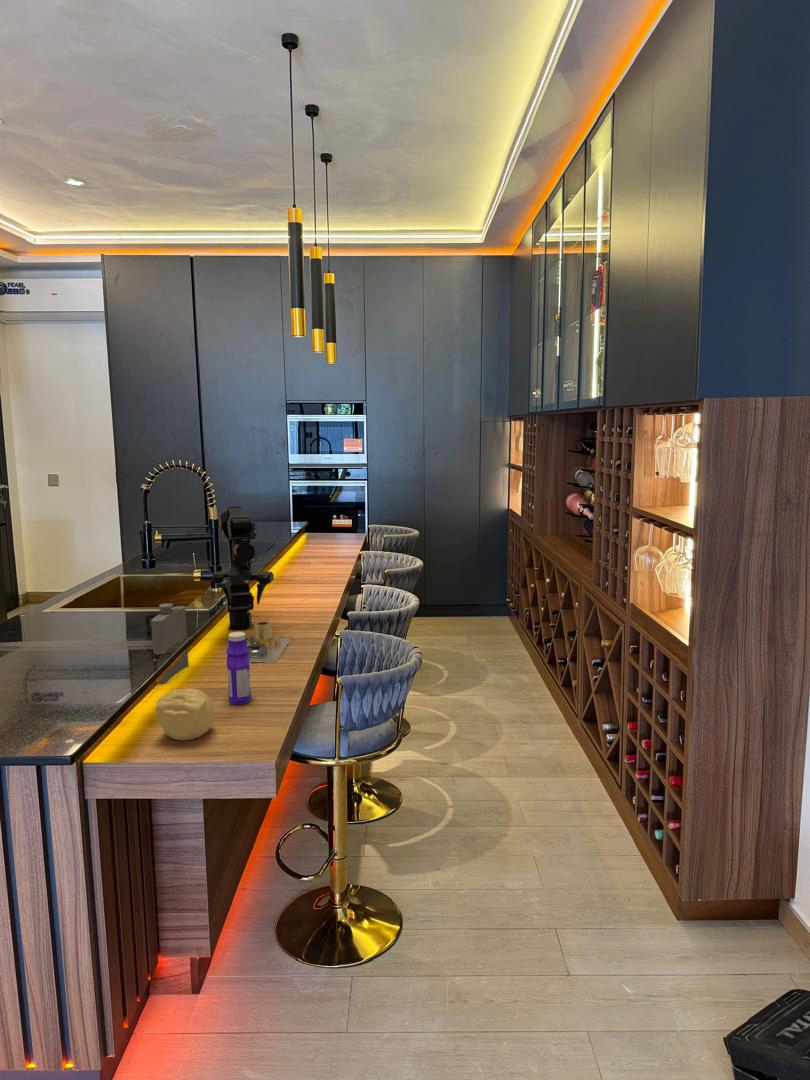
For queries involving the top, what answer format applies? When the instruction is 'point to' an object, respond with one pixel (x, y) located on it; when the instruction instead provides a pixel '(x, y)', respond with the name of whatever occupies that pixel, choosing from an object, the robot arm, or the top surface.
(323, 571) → the top surface
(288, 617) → the top surface
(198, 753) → the top surface
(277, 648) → the carrier plate
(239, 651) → the bottle
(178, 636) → the hip flask
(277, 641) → the gear
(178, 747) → the top surface
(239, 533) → the robot arm
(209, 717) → the sculpture
